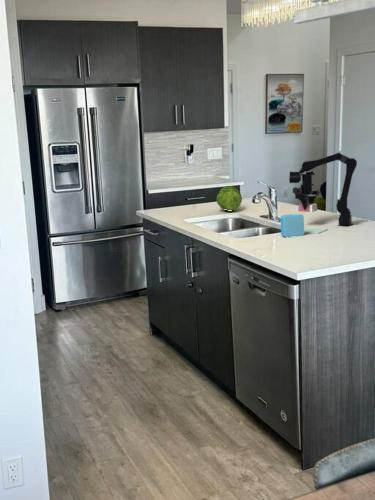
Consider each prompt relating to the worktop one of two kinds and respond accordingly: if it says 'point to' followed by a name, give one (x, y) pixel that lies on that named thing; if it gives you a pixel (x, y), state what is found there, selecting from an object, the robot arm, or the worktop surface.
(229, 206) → the lettuce
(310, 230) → the mat
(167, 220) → the worktop surface
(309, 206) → the card deck
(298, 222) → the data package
